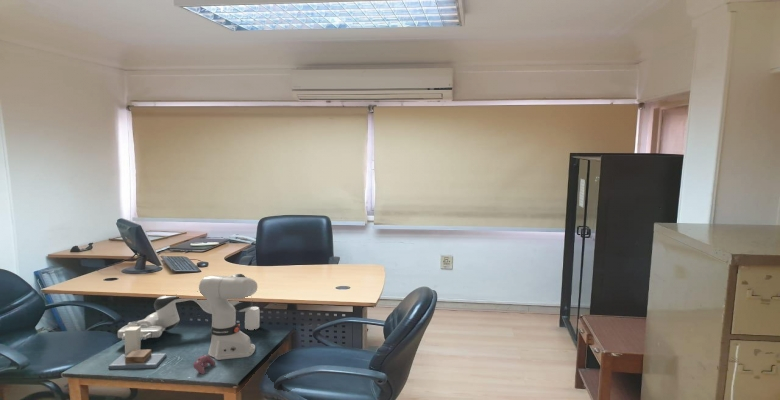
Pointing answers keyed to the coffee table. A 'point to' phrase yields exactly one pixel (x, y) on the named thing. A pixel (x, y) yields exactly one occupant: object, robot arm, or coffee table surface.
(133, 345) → the cream pillar
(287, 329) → the coffee table surface
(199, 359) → the video game controller
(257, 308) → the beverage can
